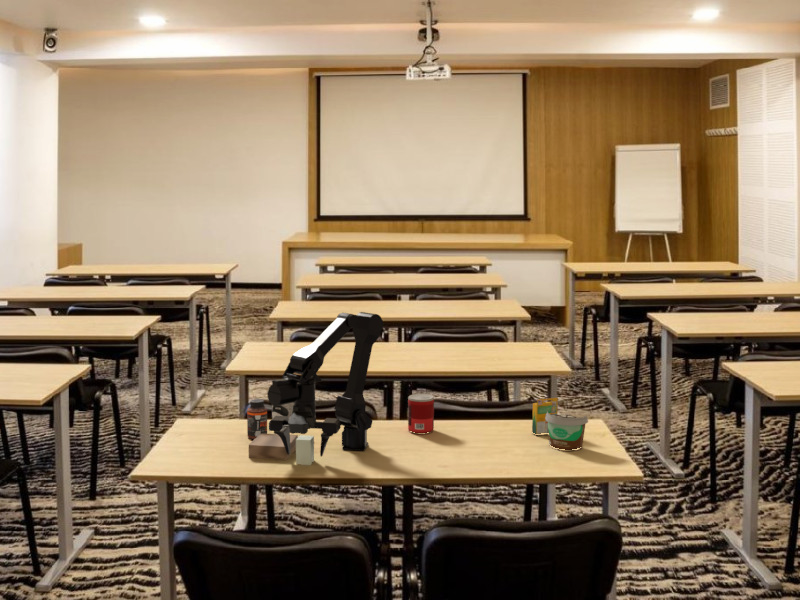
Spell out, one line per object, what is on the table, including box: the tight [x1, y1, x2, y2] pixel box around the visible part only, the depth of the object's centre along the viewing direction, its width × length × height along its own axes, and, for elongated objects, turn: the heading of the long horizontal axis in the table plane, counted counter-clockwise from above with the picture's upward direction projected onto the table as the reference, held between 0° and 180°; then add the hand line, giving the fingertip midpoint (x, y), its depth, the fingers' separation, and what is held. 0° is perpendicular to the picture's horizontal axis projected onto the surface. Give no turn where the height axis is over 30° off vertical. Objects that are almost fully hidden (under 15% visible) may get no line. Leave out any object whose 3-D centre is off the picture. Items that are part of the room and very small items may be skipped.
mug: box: [271, 402, 294, 420], centre depth 253 cm, size 10×7×7 cm
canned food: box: [407, 393, 435, 433], centre depth 242 cm, size 8×8×11 cm
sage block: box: [295, 434, 315, 466], centre depth 213 cm, size 4×4×7 cm
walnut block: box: [248, 433, 299, 461], centre depth 222 cm, size 11×11×4 cm
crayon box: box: [531, 397, 559, 434], centre depth 240 cm, size 7×3×12 cm, turn 108°
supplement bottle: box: [246, 398, 268, 440], centre depth 235 cm, size 6×6×11 cm
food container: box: [545, 411, 589, 450], centre depth 226 cm, size 12×6×10 cm, turn 70°
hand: (305, 455), depth 213 cm, fingers open, 9 cm apart
